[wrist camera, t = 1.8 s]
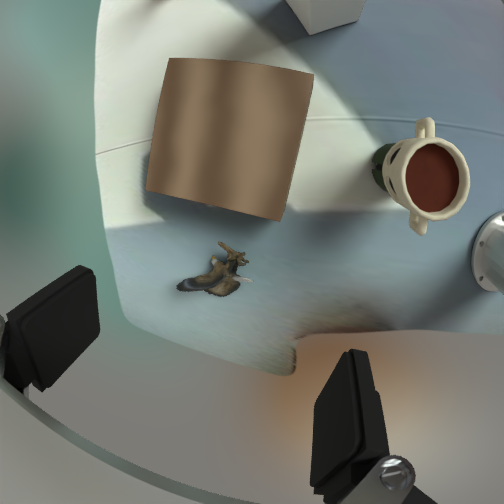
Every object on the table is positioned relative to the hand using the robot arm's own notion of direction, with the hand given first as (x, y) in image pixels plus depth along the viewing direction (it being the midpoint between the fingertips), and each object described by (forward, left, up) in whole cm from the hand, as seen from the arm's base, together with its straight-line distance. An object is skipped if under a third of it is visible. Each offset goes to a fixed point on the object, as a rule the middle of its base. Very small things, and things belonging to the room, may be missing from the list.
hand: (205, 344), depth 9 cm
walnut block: (+7, -7, -28) cm, 30 cm away
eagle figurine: (+6, +11, -28) cm, 31 cm away
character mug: (-13, -8, -28) cm, 32 cm away
